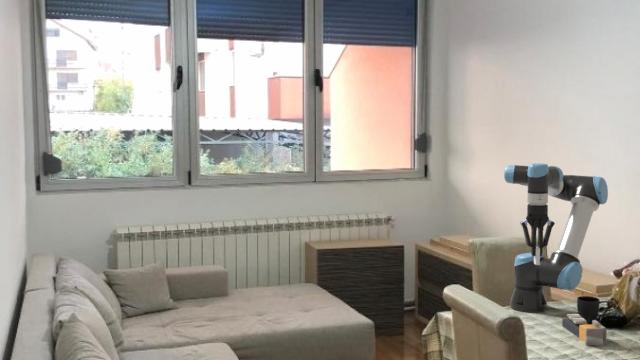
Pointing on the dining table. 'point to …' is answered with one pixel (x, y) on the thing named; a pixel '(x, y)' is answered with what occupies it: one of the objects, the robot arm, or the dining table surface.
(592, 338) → the rail
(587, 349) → the dining table surface
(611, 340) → the dining table surface
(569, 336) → the dining table surface
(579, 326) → the grey and orange bar
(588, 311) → the mug
